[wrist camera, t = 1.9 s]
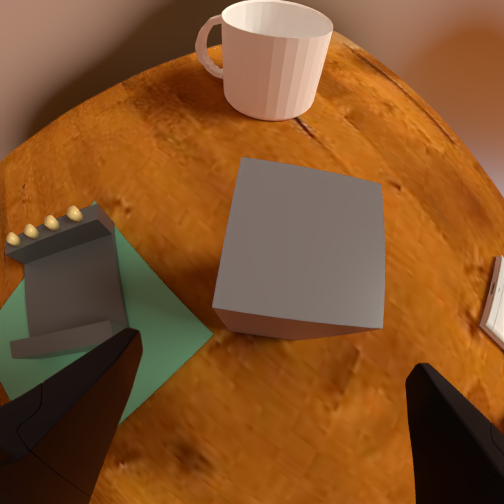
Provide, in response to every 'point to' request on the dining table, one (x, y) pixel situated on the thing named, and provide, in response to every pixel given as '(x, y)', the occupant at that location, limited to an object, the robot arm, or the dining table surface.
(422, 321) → the dining table surface
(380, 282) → the grey tall block
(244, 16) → the mug
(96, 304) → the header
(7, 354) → the board
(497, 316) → the hard drive
